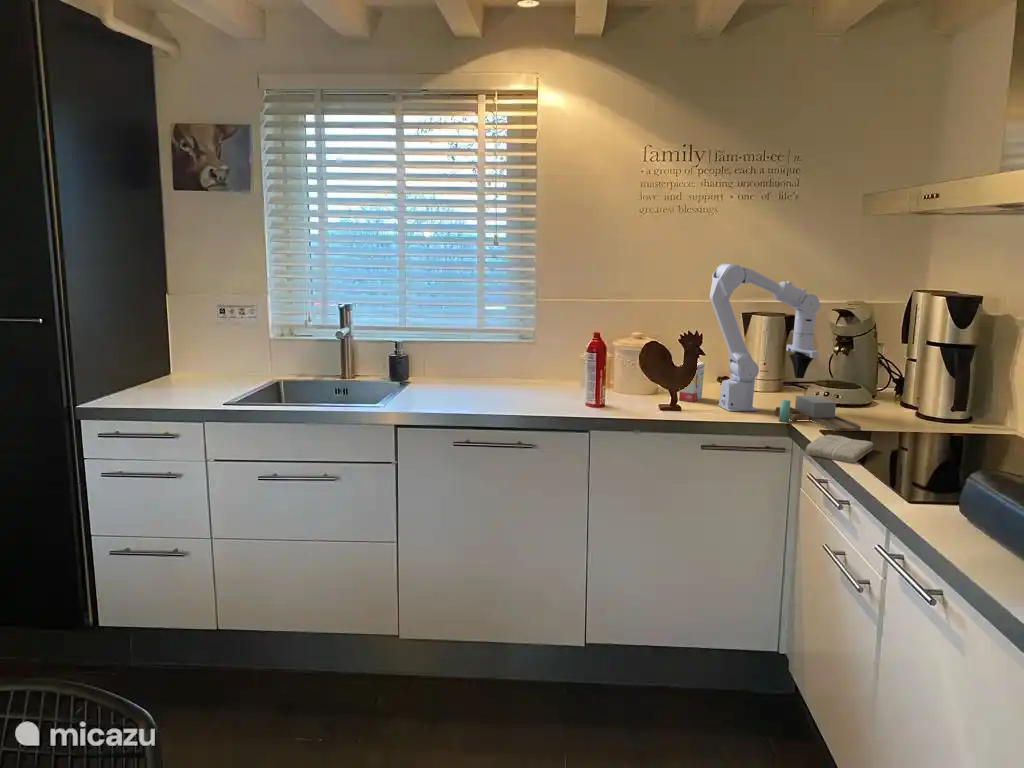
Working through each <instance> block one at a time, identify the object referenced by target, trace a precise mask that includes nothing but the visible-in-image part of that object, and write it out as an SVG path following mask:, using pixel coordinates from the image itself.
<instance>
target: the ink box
mask: <svg viewBox="0 0 1024 768" xmlns="http://www.w3.org/2000/svg"><path fill="white" fill-rule="evenodd" d="M697 362H698V363H697V370H696V374H695V376H694V378H693V380H692V381H691V383H690V384H689V385H688V386H687V387H685V388H684V389H682V390H680V389H679V395H678V396H679V397H678V401H682V402H683V401H684V402H690V403H694V402H696V401H697V402H698V401H699V400H701V399H702V398H703V385H704V376H705V375H704V374H705V364H706V363H705V362H703V361H697ZM683 363H684V362H682V363H681V366H682V365H683Z"/></svg>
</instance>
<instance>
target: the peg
mask: <svg viewBox="0 0 1024 768" xmlns="http://www.w3.org/2000/svg"><path fill="white" fill-rule="evenodd" d="M791 402H792V401H791V400H789V399H788V400H787V399H781V400H780V406H779V407H780V415H778V417H779V418H778V421H779V423H785V422H787V423H789V422H788V421H790V420H789V412H790V407H791Z"/></svg>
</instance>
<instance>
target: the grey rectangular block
mask: <svg viewBox="0 0 1024 768" xmlns="http://www.w3.org/2000/svg"><path fill="white" fill-rule="evenodd" d="M794 405H795V406H794V409H797V410H799V411H801V412H804V413H806V414H809V416H811V417H814V418H835V416H836V410H837V409H836V408H837V402H836V401H832V400H830V399H827V398H824V397H822V396H819V395H795V404H794Z"/></svg>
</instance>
